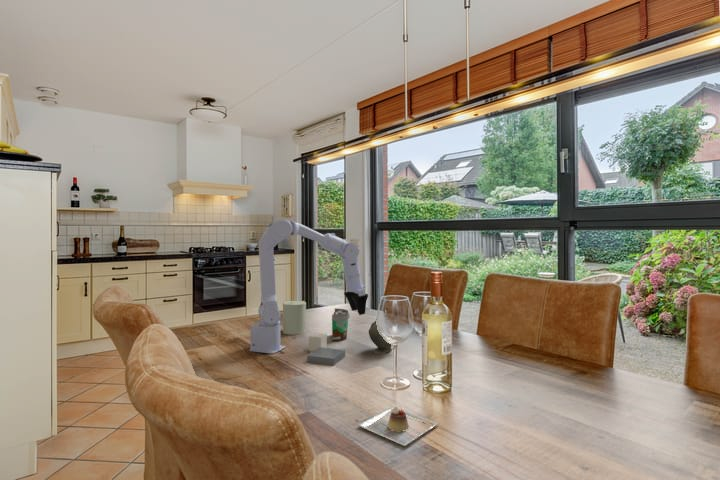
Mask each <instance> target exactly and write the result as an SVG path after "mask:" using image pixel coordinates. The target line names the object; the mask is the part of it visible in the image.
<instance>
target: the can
mask: <svg viewBox="0 0 720 480" xmlns="http://www.w3.org/2000/svg"><path fill="white" fill-rule="evenodd" d="M306 318H307V302H306V301H305V300H304V301H303V300H287V301H284V302H282V333H283V334H284V335H290V336H294V335H295V336H296V335H302V334H305V333H307V319H306Z"/></svg>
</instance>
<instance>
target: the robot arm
mask: <svg viewBox="0 0 720 480" xmlns="http://www.w3.org/2000/svg"><path fill="white" fill-rule="evenodd" d="M289 236H301V237H304V238H307V239H308V240H309V239H310V240H311V241H314V242H316V243H318V244H320V246H321V249H323V250H326V251H328V252H331V253H333V254H335V255H338V256H340V257H341V260H342V268H343V274H344V280H345V288H346V289H345V290H346V292H344V293H343V295H344V296H345V298H346V300H347V302H348V305H349V306H350V309H351V311H352V312H354V311H357V313H358V315H359V316H362V315H365V314H366V306H367V300H368V298H369V294H368V293H366V292H365V288H366V285H365V284H363V282H362V275H361V270H360V262H359V257H358V256H359V254H360V249H359V247H358V246H357V244H356V243H353V242H349V241H348V239H347V238H344V239H343V238H341V237H339V236H337V235H336V233H334V232H331V233H329V232H327V233H325V234H322V233H320V232H318V231H316V230H314V229H313V228H310V227H309V226H306V225H304V224H301V223H299V222H295V221H292V220H288V219H286V218H279V219H275V220H273V221H272V222H271V223H269V224H268V225H267V227H266V228H265V230H264V232H263V234H262V236H261V237H260V239H259V241H258V255H259V256H258V258H259V260H258V261H259V276H260V277H259V278H260V295H261V296H260V304H259V306H258V312H257V313H258V315H259V317H261V318H260V319H259V320H258V321H257V322H254V323H253V324H252V326H251V328H250V334H249V335H250V338H249V339H250V342H249V343H250V349H248V350H249V352H254V353H262V354H271V355H272V354H276V353H278V352H280V351H281V350H283V349H286V345H281V316H282V313H281V309H279V307H278V306H279V305H278V299H277V293H276V291H277V290H276V274H275V273H276V272H275V256H274V255H275V253H274V251H275V250H274V248H275V247H276V246H277V245H278V244H279V243H280V242H281V241H283V240H284V239H287V238H288V237H289Z"/></svg>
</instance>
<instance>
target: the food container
mask: <svg viewBox="0 0 720 480" xmlns="http://www.w3.org/2000/svg"><path fill="white" fill-rule="evenodd" d="M350 318H351V314H350V312H349V310H348V309H344V308H334V311H333V314H331V326H332V327H331V334H332V335H331V338H332V341H331V343H332V342H334V343H336V342H342V341H346V340H347V339H348V338H347V337H348V325H349V324H348V323H349V319H350Z"/></svg>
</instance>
